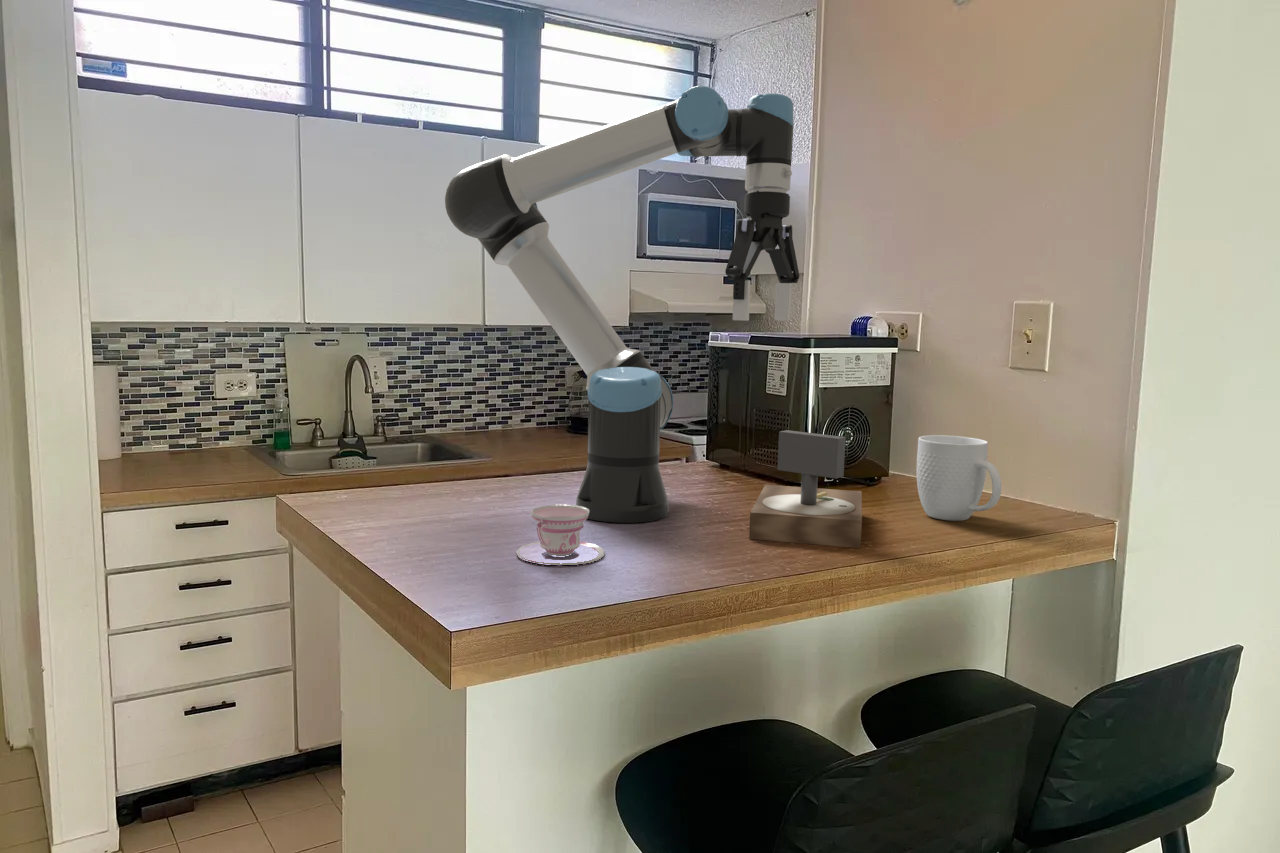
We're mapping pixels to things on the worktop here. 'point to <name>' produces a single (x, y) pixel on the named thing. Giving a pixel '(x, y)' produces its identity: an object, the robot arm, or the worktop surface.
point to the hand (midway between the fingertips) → (762, 320)
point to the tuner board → (807, 517)
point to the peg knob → (811, 459)
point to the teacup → (561, 531)
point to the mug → (954, 476)
